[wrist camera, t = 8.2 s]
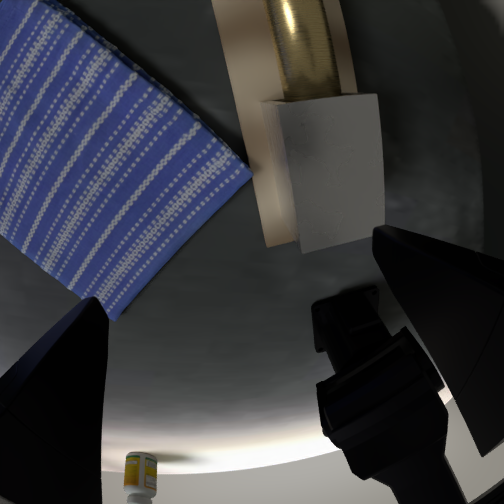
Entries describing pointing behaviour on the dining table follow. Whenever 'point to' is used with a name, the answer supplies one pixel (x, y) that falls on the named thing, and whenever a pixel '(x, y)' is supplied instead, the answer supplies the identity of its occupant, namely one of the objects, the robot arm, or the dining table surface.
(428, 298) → the robot arm
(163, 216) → the dish towel
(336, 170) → the sleeve
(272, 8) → the tube
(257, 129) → the mounting board
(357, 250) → the dining table surface
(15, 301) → the dining table surface
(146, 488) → the supplement bottle
